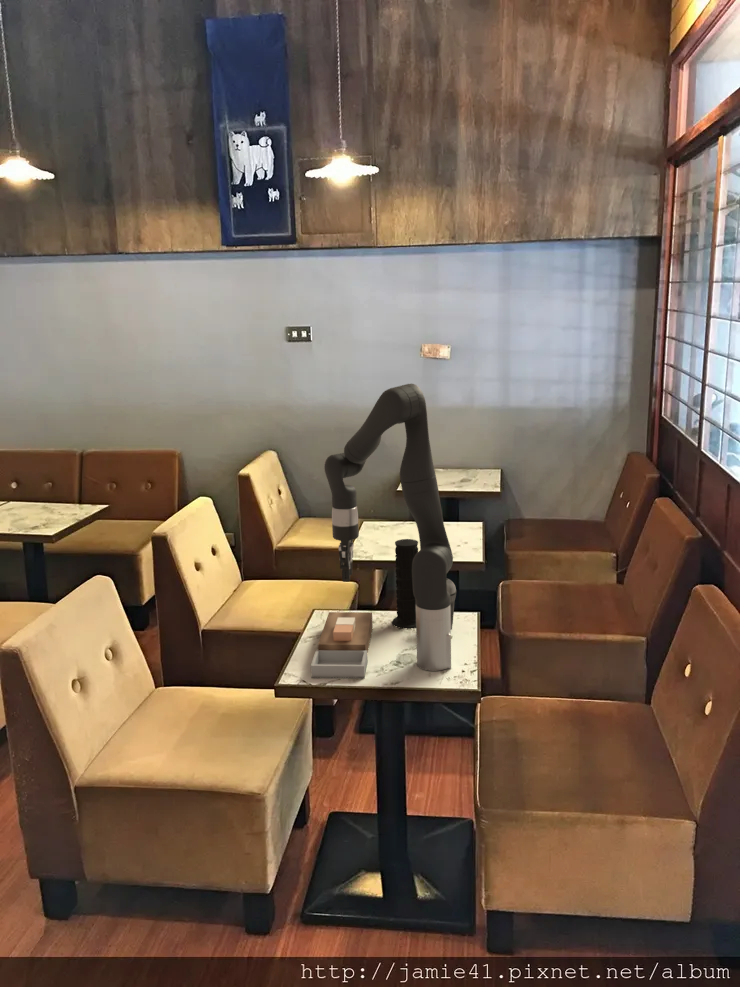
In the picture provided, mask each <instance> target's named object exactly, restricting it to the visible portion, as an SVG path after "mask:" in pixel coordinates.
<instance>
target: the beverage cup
mask: <svg viewBox="0 0 740 987" xmlns="http://www.w3.org/2000/svg"><path fill="white" fill-rule="evenodd" d="M447 591H448V592H449V594H450V600H451V604H450V612H451V631H452V630H453V624H454V614H455V612H454V610H455V600H456V596H457V589H456V585H455V583H454V582H453V581H452V580H451V579H450V578H447Z"/></svg>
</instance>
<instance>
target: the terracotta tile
mask: <svg viewBox="0 0 740 987" xmlns="http://www.w3.org/2000/svg"><path fill="white" fill-rule="evenodd" d="M353 634H354V633H353V625H335V628H334V631H333V638H334V641H352V638H353Z"/></svg>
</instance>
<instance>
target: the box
mask: <svg viewBox="0 0 740 987" xmlns="http://www.w3.org/2000/svg"><path fill="white" fill-rule="evenodd" d="M367 667H368V654H367V650H318V649H316V650H315V652H314V655H313V658H312V661H311V664H310V676H311V679H363V678H364V679H365V677H366V673H367Z"/></svg>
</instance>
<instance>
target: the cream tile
mask: <svg viewBox="0 0 740 987" xmlns="http://www.w3.org/2000/svg"><path fill="white" fill-rule="evenodd" d="M336 625H353V633H354V630H355V618H346V617H338V619H337V622H336Z"/></svg>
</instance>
